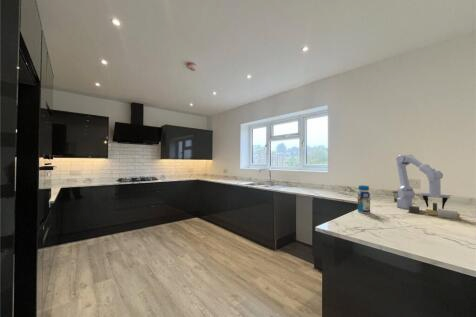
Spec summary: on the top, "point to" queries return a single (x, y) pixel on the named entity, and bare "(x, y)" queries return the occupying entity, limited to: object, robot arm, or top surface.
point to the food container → (395, 195)
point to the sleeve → (447, 214)
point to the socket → (413, 209)
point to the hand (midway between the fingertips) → (435, 207)
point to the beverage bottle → (363, 199)
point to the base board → (434, 215)
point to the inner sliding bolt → (437, 210)
